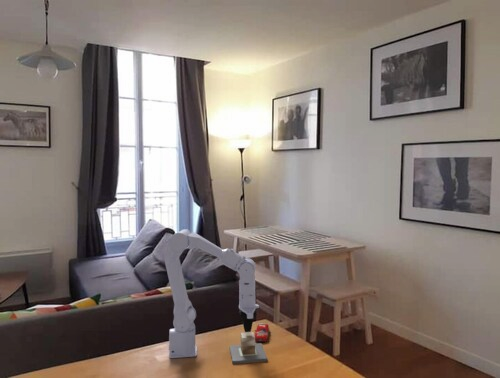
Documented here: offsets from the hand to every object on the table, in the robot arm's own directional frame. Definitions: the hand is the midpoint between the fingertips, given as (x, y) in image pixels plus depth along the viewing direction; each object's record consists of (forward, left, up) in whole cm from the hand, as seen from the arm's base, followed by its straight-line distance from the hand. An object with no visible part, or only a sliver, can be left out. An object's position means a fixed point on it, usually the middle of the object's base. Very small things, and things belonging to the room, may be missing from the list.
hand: (247, 331), depth 138 cm
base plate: (0, 0, -8) cm, 8 cm away
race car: (+8, +15, -9) cm, 19 cm away
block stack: (0, 0, -7) cm, 7 cm away
